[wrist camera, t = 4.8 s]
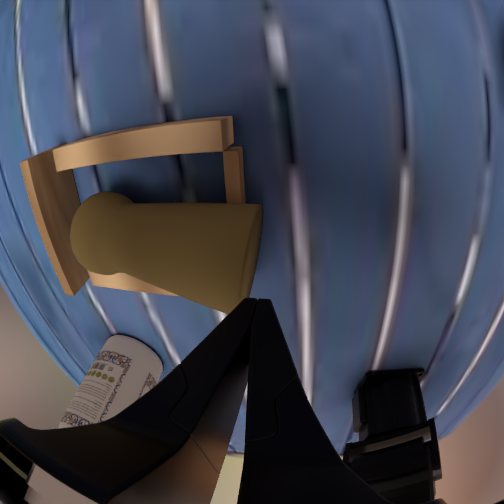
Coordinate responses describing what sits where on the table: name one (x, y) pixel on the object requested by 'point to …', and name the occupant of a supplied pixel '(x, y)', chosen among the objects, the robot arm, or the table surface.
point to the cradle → (109, 150)
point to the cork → (172, 245)
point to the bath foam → (113, 381)
